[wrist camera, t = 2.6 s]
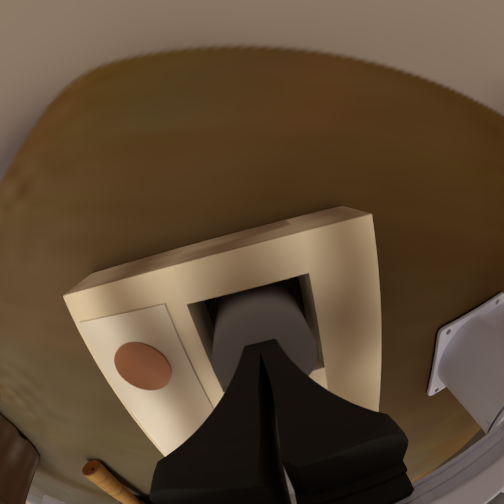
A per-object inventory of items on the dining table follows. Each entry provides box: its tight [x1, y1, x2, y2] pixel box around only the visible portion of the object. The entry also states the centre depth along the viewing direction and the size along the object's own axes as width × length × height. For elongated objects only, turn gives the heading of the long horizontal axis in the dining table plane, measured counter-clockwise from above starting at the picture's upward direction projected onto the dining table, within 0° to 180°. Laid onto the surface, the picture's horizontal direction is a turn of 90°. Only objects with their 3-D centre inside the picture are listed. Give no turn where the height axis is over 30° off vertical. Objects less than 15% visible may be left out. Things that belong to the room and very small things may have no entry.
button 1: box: [212, 281, 318, 387], centre depth 13 cm, size 4×4×4 cm
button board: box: [63, 206, 382, 457], centre depth 16 cm, size 15×27×4 cm, turn 14°
